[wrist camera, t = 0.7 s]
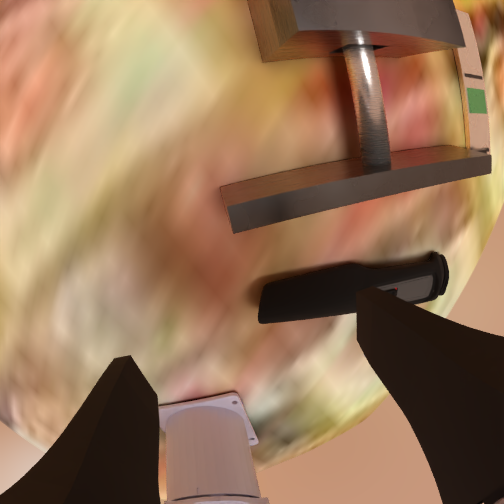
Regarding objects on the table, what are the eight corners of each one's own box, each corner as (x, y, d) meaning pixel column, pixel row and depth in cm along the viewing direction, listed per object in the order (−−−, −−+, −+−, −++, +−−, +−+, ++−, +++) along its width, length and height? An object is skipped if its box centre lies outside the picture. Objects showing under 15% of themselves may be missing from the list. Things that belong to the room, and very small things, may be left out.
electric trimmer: (249, 263, 18) (259, 290, 16) (439, 247, 21) (464, 265, 18) (250, 313, 20) (258, 344, 17) (428, 287, 22) (450, 307, 19)
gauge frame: (486, 162, 18) (540, 180, 13) (290, 200, 17) (334, 239, 11) (457, -6, 12) (509, -17, 6) (236, -37, 10) (256, -95, 5)
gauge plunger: (476, 157, 17) (514, 168, 14) (225, 208, 16) (233, 233, 12) (452, 9, 12) (488, 1, 8) (175, -3, 11) (171, -37, 7)
